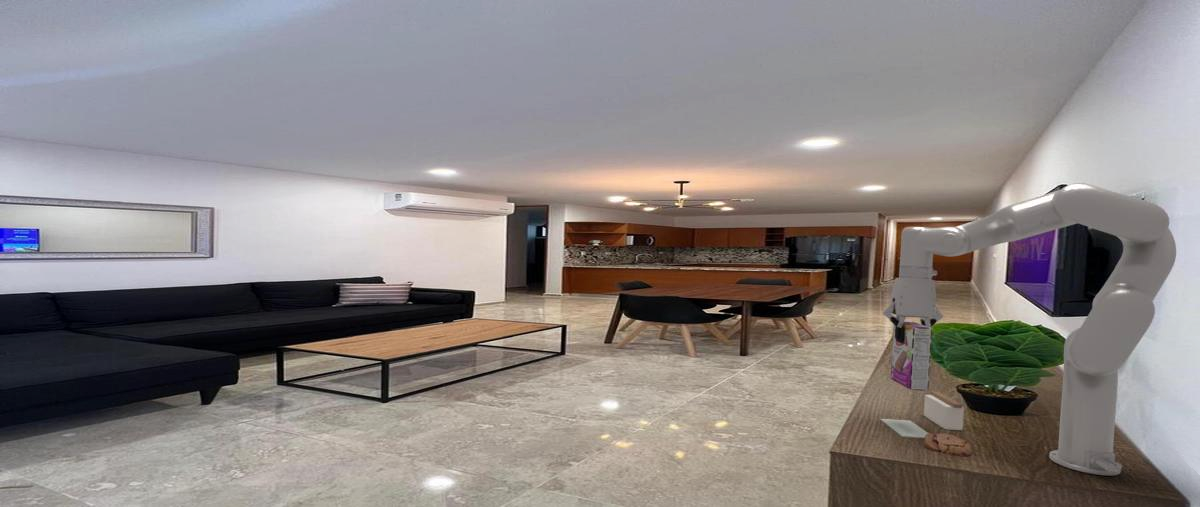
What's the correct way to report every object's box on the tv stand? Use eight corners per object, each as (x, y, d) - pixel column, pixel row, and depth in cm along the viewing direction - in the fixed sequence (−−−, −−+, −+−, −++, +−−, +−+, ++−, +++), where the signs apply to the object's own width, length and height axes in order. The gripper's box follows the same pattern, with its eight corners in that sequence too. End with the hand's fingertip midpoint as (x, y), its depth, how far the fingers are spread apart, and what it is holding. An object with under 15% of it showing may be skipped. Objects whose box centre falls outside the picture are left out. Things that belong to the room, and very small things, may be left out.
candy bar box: (889, 379, 161) (892, 319, 160) (907, 380, 161) (911, 320, 160) (909, 390, 150) (913, 326, 149) (929, 391, 149) (933, 327, 149)
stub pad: (935, 439, 148) (935, 437, 148) (902, 436, 149) (902, 435, 149) (910, 421, 162) (910, 420, 162) (880, 419, 163) (880, 418, 163)
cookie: (961, 460, 135) (961, 447, 135) (914, 445, 144) (915, 433, 143) (980, 452, 141) (981, 440, 141) (934, 438, 149) (934, 427, 149)
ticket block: (963, 430, 156) (965, 404, 156) (942, 429, 156) (944, 403, 156) (939, 415, 169) (940, 391, 168) (920, 414, 169) (921, 390, 169)
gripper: (942, 274, 157) (937, 342, 158) (876, 271, 158) (872, 338, 159) (956, 276, 150) (952, 347, 150) (887, 273, 151) (883, 343, 152)
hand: (911, 342), depth 155 cm, fingers closed on candy bar box, 5 cm apart
